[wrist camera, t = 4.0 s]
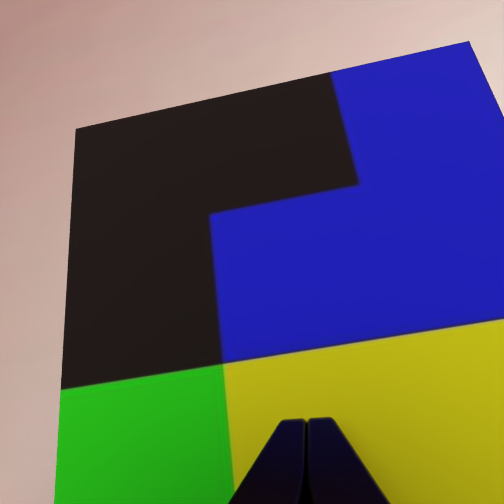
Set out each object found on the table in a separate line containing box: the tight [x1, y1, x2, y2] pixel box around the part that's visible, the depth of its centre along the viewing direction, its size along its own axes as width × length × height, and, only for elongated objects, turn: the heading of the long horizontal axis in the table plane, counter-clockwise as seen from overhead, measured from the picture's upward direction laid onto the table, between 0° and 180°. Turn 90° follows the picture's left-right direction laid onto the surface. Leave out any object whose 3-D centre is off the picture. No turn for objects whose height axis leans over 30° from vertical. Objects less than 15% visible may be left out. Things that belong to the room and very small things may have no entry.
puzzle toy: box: [54, 41, 504, 504], centre depth 14 cm, size 10×10×10 cm
